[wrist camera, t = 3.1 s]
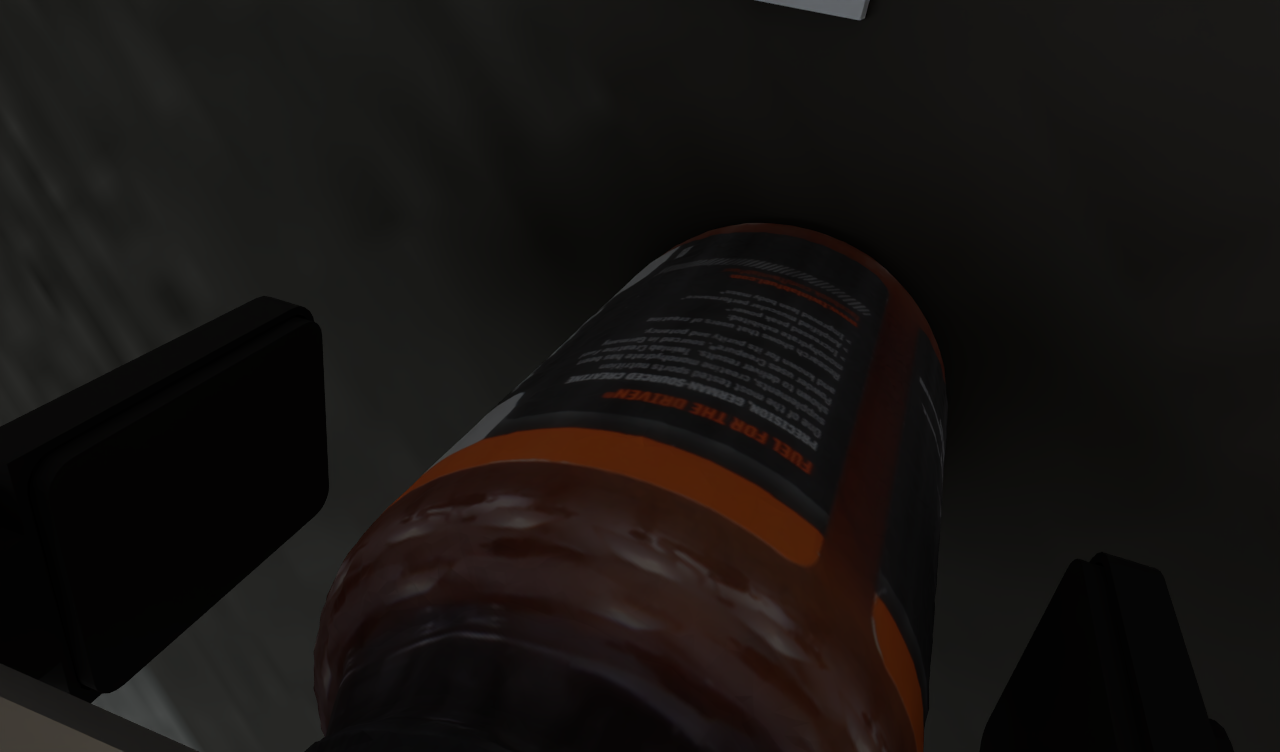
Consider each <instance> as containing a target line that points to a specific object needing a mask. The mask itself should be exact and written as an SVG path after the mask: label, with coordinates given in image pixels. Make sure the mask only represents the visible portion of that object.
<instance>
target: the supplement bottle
mask: <svg viewBox="0 0 1280 752" xmlns="http://www.w3.org/2000/svg"><path fill="white" fill-rule="evenodd" d="M947 413H948V401H947V396H946V382H945V369H944V365H943V361H942V357H941V354H940V350H939V348H938V345H937V342H936V339H935V337H934V335H933V333H932V330H931V328H930V326H929V324H928V322H927V320H926V318H925V317H924V315H923V313H922V312H921V310H920V308H919V307H918V305H917V304H916V302H915V301H914V300H913V298H912V297H911V295H910V294H909V293H908V292H907V291H906V290H905V289H904V288H903V286H902V285H901V284H900V283H899V282H898V281H897V280H896V278H895V277H893V276H892V275H891V274H890V273H889V272H888V271H887V270H886V269H885V268H884V267H883V266H881V265H880V264H879V263H878V262H877V261H876V260H874V259H873V258H872V257H870V256H869V255H867V254H865V253H863V252H862V251H860V250H858V249H856V248H855V247H853V246H851V245H849V244H847V243H846V242H843V241H840V240H838V239H835V238H833V237H831V236H829V235H826V234H823V233H820V232H817V231H813V230H810V229H805V228H801V227H796V226H791V225H782V224H774V223H745V224H739V225H732V226H726V227H722V228H718V229H714V230H710V231H707V232H705V233H703V234H700V235H698V236H696V237H693V238H691V239H688V240H686V241H685V242H683V243H681V244H678V245H676V246H674V247H673V248H672V249H670V250H669V251H667V252H666V253H665V254H663V255H662V256H660V257H659V258H658V259H656V260H654V261H653V262H651V263H650V264H649V265H648V266H646V267H645V268H644V269H643V270H642V271H641V272H639V273H638V274H637V275H636V276H635V277H634V278H633V279H632V280H631V281H630V282H629V283H627V284H626V285H625V286H624V287H623V288H622V289H621V290H620V291H619V292H618V293H617V294H616V295H615V296H614V297H613V298H612V299H610V300H609V301H608V302H607V303H606V304H605V305H604V306H602V307H601V308H600V309H599V310H598V311H597V312H596V313H595V314H594V315H593V316H592V317H591V318H589V319H588V320H587V321H586V322H585V323H584V324H583V325H582V326H581V327H580V328H579V329H578V330H577V331H576V332H575V333H574V334H573V335H572V336H571V337H570V338H568V339H567V340H566V341H565V343H563V344H562V345H561V346H560V347H559V348H558V349H557V350H556V351H555V352H554V353H553V354H552V355H551V356H550V357H548V358H547V359H546V360H545V361H544V362H542V363H541V364H540V365H539V366H538V367H537V368H536V370H535V371H534V372H532V373H531V374H530V375H529V376H528V377H527V378H526V379H525V380H524V381H523V382H522V383H521V384H519V385H518V386H517V387H516V388H515V389H514V390H513V391H512V392H510V393H509V394H508V395H507V396H506V397H505V398H504V399H503V400H502V401H501V402H499V403H498V405H496V406H495V407H494V408H493V409H492V410H491V411H490V412H489V413H488V414H487V415H486V416H485V417H484V418H483V419H481V420H480V421H479V422H478V423H477V424H476V425H475V426H474V427H473V428H472V429H471V430H470V431H469V432H468V433H467V434H466V435H465V436H464V437H463V438H462V439H461V440H459V441H458V442H457V443H456V444H455V445H454V446H453V447H452V448H451V449H450V450H449V451H447V452H446V453H445V454H444V455H443V456H442V457H441V458H440V459H439V460H438V461H437V462H436V463H435V464H433V465H432V466H431V467H430V468H429V469H428V470H427V471H426V472H425V473H424V474H423V475H422V476H421V477H420V478H419V479H418V480H417V481H416V482H415V483H414V484H413V485H412V486H411V487H410V488H409V489H408V490H407V491H406V492H405V493H403V494H402V495H401V496H400V497H399V498H398V499H397V500H396V501H395V502H394V503H393V504H391V505H390V506H389V507H388V508H387V509H386V510H385V511H384V512H383V514H382V515H381V516H380V517H379V518H378V519H377V520H376V521H375V522H374V523H373V524H372V525H371V526H370V528H369V529H368V530H367V531H366V532H365V533H364V534H363V536H362V537H361V538H360V540H359V541H358V542H357V544H356V545H355V546H354V547H353V548H352V550H351V551H350V552H349V553H348V555H347V556H346V558H345V559H344V561H343V563H342V565H341V567H340V569H339V571H338V573H337V576H336V578H335V580H334V582H333V584H332V586H331V589H330V591H329V593H328V595H327V599H326V603H325V605H324V607H323V610H322V613H321V618H320V628H319V632H318V635H317V638H316V643H315V648H314V692H315V695H316V699H317V702H318V711H319V716H320V721H321V729H322V732H323V734H324V736H325V737H324V738H323V739H322V740H321V741H318V742H315V743H314V744H313V745H311V746H310V747H309V748H308V749H307V750H306V751H305V752H923V743H924V726H925V721H926V718H927V714H928V711H929V677H930V662H931V652H932V643H933V640H932V634H933V624H934V611H935V593H936V585H937V567H938V551H939V539H940V520H941V506H942V486H943V477H944V456H945V451H946V440H947V431H946V429H947V420H948V417H947Z"/></svg>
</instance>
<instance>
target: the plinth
mask: <svg viewBox="0 0 1280 752" xmlns="http://www.w3.org/2000/svg"><path fill="white" fill-rule="evenodd" d="M756 1H762V2H767V3H772V4H777V5H782V6H788V7H793V8H798V9H803V10H808V11H814V12H819V13H824V14H829V15H834V16H839V17H845V18H850V19H855V20H862V19H865V16H866V12H867V8H868V5H869V1H870V0H756Z"/></svg>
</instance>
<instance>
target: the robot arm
mask: <svg viewBox="0 0 1280 752" xmlns="http://www.w3.org/2000/svg"><path fill="white" fill-rule="evenodd" d="M328 491H329V478H328V456H327V434H326V412H325V390H324V368H323V346H322V333H321V329H320V327H319V325H318V324H317V323H315V322H314V319H313V316H312V314H311V313H310V311H309V310H307V309H306V308H305V307H301V306H298V305H295V304H292V303H288V302H285V301H282V300H279V299H275V298H272V297H267V296H262V297H259V298H256V299H254V300H252V301H250V302H248V303H246V304H244V305H242V306H240V307H238V308H236V309H234V310H232V311H230V312H228V313H226V314H224V315H222V316H220V317H218V318H216V319H214V320H212V321H210V322H208V323H206V324H204V325H202V326H200V327H198V328H196V329H194V330H192V331H190V332H188V333H186V334H184V335H182V336H180V337H178V338H176V339H174V340H172V341H170V342H168V343H166V344H164V345H162V346H160V347H158V348H156V349H154V350H152V351H150V352H148V353H146V354H144V355H142V356H140V357H138V358H136V359H134V360H132V361H130V362H128V363H126V364H124V365H122V366H120V367H118V368H116V369H114V370H112V371H111V372H109V373H107V374H105V375H103V376H101V377H99V378H97V379H95V380H93V381H91V382H89V383H87V384H85V385H83V386H81V387H79V388H77V389H75V390H73V391H71V392H69V393H67V394H65V395H63V396H61V397H59V398H57V399H55V400H53V401H51V402H49V403H47V404H45V405H43V406H41V407H39V408H37V409H35V410H33V411H31V412H29V413H27V414H25V415H23V416H21V417H19V418H17V419H15V420H13V421H11V422H9V423H7V424H5V425H3V426H1V427H0V752H198V751H196V750H194V749H192V748H189V747H187V746H185V745H183V744H180V743H178V742H176V741H174V740H171V739H169V738H167V737H165V736H162V735H160V734H158V733H156V732H153V731H151V730H149V729H147V728H144V727H142V726H140V725H138V724H135V723H133V722H131V721H129V720H126V719H124V718H122V717H120V716H117V715H115V714H113V713H111V712H108V711H106V710H104V709H102V708H99V707H97V706H95V705H93V704H90V703H92V702H93V701H94V700H95V699H96V698H97V697H98V696H100V695H101V694H102V693H110V692H113V691H115V690H117V689H119V688H120V687H121V686H123V685H124V684H125V683H126V682H127V681H129V680H130V679H131V678H132V677H133V676H134V675H135V674H136V673H138V672H139V671H140V670H141V669H142V668H143V667H144V666H146V665H147V664H148V663H149V662H150V661H151V660H152V659H153V658H155V657H156V656H157V655H158V654H159V653H160V652H161V651H163V650H164V649H165V648H166V647H167V646H168V645H169V644H170V643H172V642H173V641H174V640H175V639H176V638H177V637H178V636H180V635H181V634H182V633H183V632H184V631H185V630H186V629H187V628H189V627H190V626H191V625H192V624H193V623H194V622H195V621H197V620H198V619H199V618H200V617H201V616H202V615H203V614H204V613H206V612H207V611H208V610H209V609H210V608H211V607H212V606H213V605H215V604H216V603H217V602H218V601H219V600H220V599H221V598H223V597H224V596H225V595H226V594H227V593H228V592H229V591H230V590H232V589H233V588H234V587H235V586H236V585H237V584H238V583H240V582H241V581H242V580H243V579H244V578H245V577H246V576H247V575H249V574H250V573H251V572H252V571H253V570H254V569H255V568H257V567H258V566H259V565H260V564H261V563H262V562H263V561H264V560H266V559H267V558H268V557H269V556H270V555H271V554H272V553H274V552H275V551H276V550H277V549H278V548H279V547H280V546H281V545H283V544H284V543H285V542H286V541H287V540H288V539H289V538H290V537H292V536H293V535H294V534H295V533H296V532H297V531H298V530H300V529H301V528H302V527H303V526H304V525H305V524H306V523H307V522H309V521H310V520H311V519H312V518H313V517H314V516H315V515H316V514H317V513H318V512H319V511H320V510H321V508H322V507H323V505H324V503H325V501H326V499H327V495H328ZM980 752H1234V750H1233V747H1232V744H1231V742H1230V740H1229V738H1228V736H1227V734H1226V732H1225V730H1224V728H1223V727H1222V726H1220V725H1219V724H1218V723H1217V722H1216V721H1215V720H1212V719H1209V718H1208V715H1207V712H1206V709H1205V706H1204V702H1203V699H1202V696H1201V693H1200V690H1199V687H1198V683H1197V680H1196V677H1195V674H1194V671H1193V668H1192V664H1191V661H1190V658H1189V655H1188V652H1187V649H1186V646H1185V642H1184V639H1183V636H1182V633H1181V630H1180V627H1179V623H1178V620H1177V617H1176V614H1175V611H1174V608H1173V604H1172V601H1171V598H1170V595H1169V592H1168V589H1167V585H1166V582H1165V579H1164V577H1163V575H1162V573H1161V571H1159V570H1157V569H1155V568H1152V567H1149V566H1146V565H1142V564H1139V563H1136V562H1133V561H1129V560H1126V559H1123V558H1120V557H1116V556H1113V555H1110V554H1107V553H1103V552H1101V553H1097V554H1096V555H1095V556H1094V557H1093V558H1092V559H1091V561H1090V562H1086V561H1083V560H1080V559H1075V560H1074V561H1073V562H1072V563H1071V564H1070V565H1069V567H1068V569H1067V570H1066V572H1065V574H1064V576H1063V578H1062V580H1061V582H1060V584H1059V586H1058V588H1057V590H1056V592H1055V593H1054V595H1053V597H1052V599H1051V601H1050V603H1049V605H1048V607H1047V609H1046V611H1045V613H1044V615H1043V616H1042V618H1041V620H1040V622H1039V624H1038V626H1037V628H1036V630H1035V632H1034V634H1033V636H1032V638H1031V639H1030V641H1029V643H1028V645H1027V647H1026V649H1025V651H1024V653H1023V655H1022V657H1021V659H1020V661H1019V662H1018V664H1017V666H1016V668H1015V670H1014V672H1013V674H1012V676H1011V678H1010V680H1009V682H1008V684H1007V685H1006V687H1005V689H1004V691H1003V693H1002V695H1001V697H1000V699H999V701H998V703H997V705H996V707H995V709H994V710H993V712H992V714H991V716H990V718H989V720H988V722H987V724H986V727H985V730H984V733H983V736H982V741H981V747H980Z"/></svg>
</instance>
